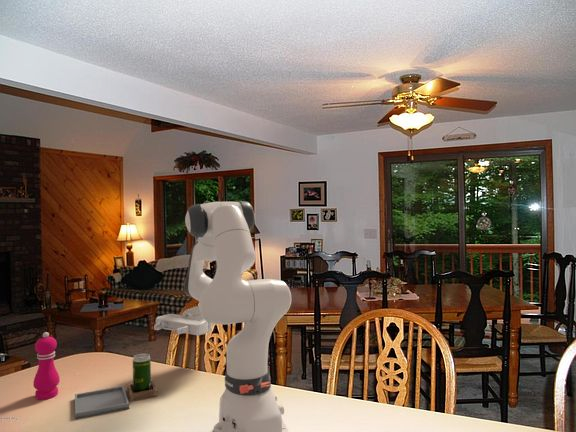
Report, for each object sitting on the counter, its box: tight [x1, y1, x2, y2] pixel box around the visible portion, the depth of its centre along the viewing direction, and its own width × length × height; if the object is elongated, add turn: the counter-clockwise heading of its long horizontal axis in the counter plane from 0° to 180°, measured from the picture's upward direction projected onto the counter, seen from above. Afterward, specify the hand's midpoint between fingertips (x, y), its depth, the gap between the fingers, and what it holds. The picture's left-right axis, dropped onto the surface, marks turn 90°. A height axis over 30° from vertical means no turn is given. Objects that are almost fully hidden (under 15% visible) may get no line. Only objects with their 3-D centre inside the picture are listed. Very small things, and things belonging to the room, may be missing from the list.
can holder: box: [126, 380, 158, 402], centre depth 140 cm, size 8×8×2 cm
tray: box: [74, 385, 130, 420], centre depth 132 cm, size 14×14×2 cm
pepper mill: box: [33, 331, 60, 401], centre depth 138 cm, size 7×7×20 cm
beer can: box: [132, 352, 152, 393], centre depth 139 cm, size 5×5×12 cm
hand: (165, 329), depth 150 cm, fingers open, 8 cm apart
